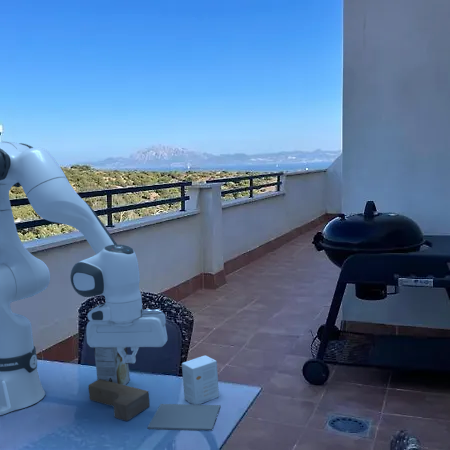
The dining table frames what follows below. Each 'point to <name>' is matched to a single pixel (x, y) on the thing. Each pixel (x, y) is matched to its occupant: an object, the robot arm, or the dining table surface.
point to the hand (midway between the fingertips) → (129, 362)
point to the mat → (184, 417)
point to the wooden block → (119, 398)
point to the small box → (200, 380)
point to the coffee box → (111, 365)
